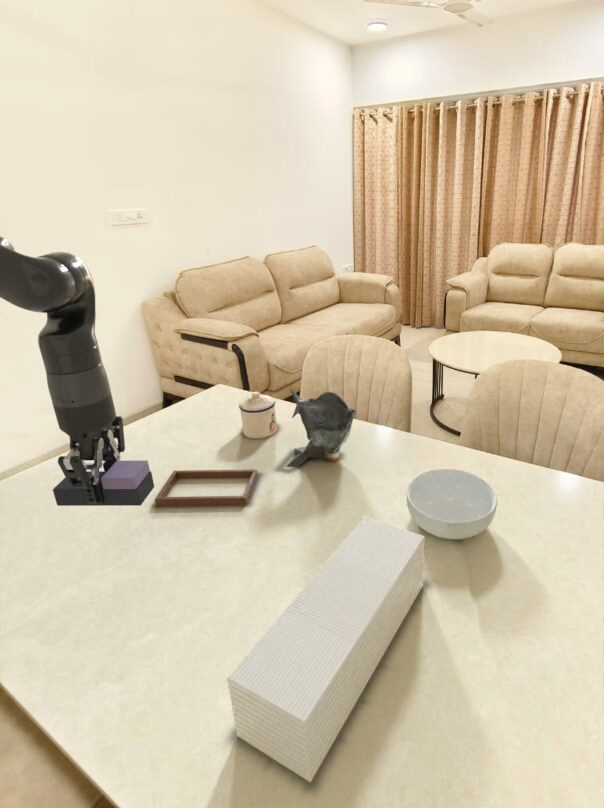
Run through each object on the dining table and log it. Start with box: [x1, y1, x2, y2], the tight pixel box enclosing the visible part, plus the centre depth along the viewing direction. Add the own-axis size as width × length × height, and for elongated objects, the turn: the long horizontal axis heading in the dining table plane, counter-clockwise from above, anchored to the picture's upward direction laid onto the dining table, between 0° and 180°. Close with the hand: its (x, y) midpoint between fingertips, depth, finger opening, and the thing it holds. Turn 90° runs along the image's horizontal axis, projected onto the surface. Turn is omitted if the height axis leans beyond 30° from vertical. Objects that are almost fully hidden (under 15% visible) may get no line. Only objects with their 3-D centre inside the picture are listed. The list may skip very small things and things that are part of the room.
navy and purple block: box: [52, 460, 155, 507], centre depth 78 cm, size 5×13×5 cm, turn 89°
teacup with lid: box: [238, 391, 278, 439], centre depth 131 cm, size 12×9×12 cm
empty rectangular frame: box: [154, 469, 259, 507], centre depth 107 cm, size 19×11×2 cm, turn 90°
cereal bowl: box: [405, 468, 498, 540], centre depth 96 cm, size 17×17×7 cm
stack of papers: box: [226, 516, 425, 783], centre depth 69 cm, size 32×11×11 cm, turn 152°
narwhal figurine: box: [285, 386, 356, 469], centre depth 115 cm, size 14×15×18 cm
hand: (106, 492), depth 79 cm, fingers closed on navy and purple block, 5 cm apart
